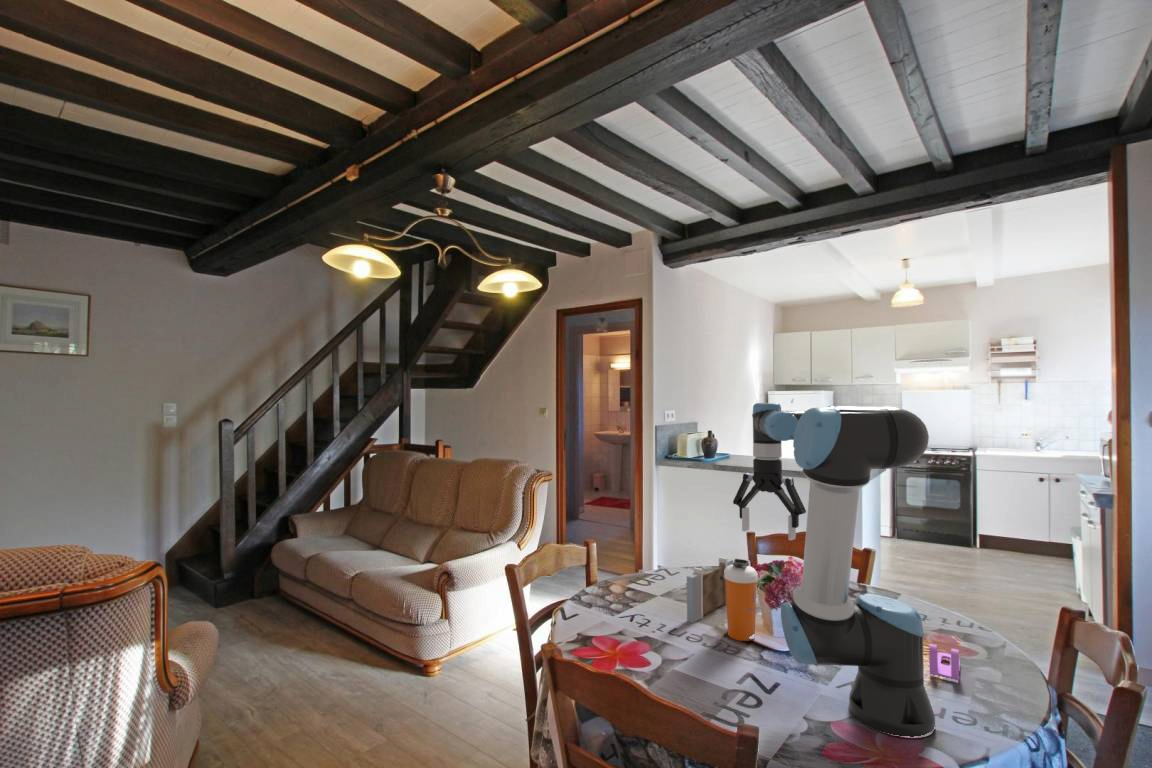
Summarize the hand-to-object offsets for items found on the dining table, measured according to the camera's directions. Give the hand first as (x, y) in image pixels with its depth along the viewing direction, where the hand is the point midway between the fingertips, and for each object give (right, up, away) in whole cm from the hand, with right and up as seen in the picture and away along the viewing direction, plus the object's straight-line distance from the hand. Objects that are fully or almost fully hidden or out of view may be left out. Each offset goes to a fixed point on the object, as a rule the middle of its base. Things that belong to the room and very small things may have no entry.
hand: (768, 534), depth 151 cm
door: (-12, -27, +15) cm, 33 cm away
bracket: (+35, -27, -21) cm, 49 cm away
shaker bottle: (-8, -27, -2) cm, 28 cm away
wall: (-12, -28, +15) cm, 34 cm away
